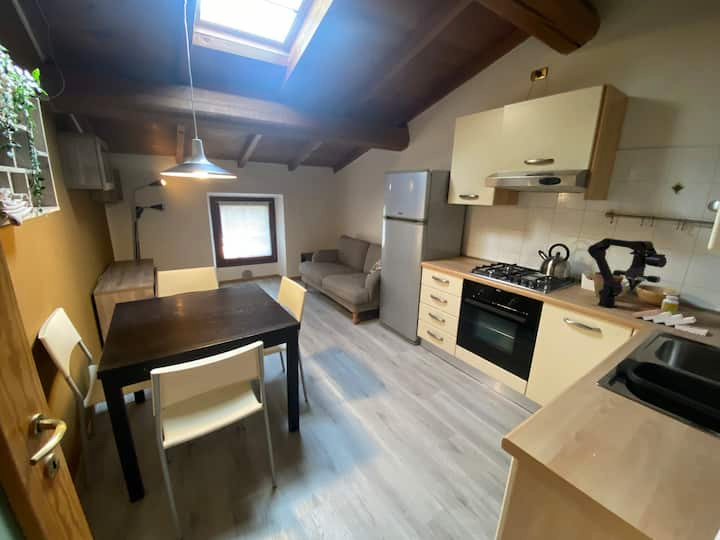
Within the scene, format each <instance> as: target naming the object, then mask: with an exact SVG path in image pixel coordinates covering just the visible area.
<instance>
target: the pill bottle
mask: <svg viewBox="0 0 720 540" xmlns="http://www.w3.org/2000/svg"><path fill="white" fill-rule="evenodd" d="M678 300H679V297H678V296H676V295H668V294H666V296H665V298H664V299H663V300H662V302H661V304H660V305H661V306H660V312H661V313H663V312H670V311H671V314H672V315H677V314H676V313H677V311H678V308H679V305H680V303H679V301H678Z"/></svg>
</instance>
